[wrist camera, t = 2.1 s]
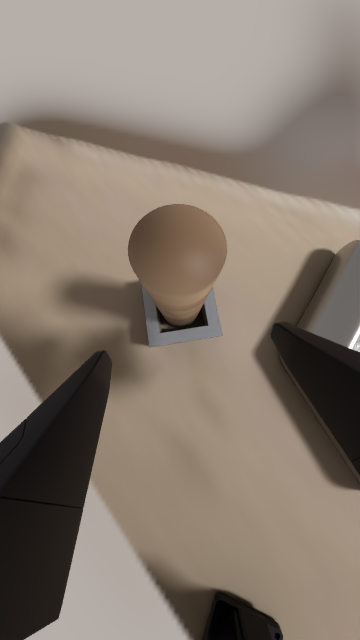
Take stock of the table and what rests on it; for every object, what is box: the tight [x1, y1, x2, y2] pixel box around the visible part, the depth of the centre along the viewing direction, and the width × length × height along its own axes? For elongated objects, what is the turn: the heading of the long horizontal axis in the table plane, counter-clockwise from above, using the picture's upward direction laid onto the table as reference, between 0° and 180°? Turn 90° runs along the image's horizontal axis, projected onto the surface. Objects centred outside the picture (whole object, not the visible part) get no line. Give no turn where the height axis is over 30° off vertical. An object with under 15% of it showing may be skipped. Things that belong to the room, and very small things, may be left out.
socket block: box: [141, 283, 222, 347], centre depth 18 cm, size 8×8×2 cm
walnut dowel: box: [128, 204, 227, 328], centre depth 13 cm, size 4×4×13 cm
